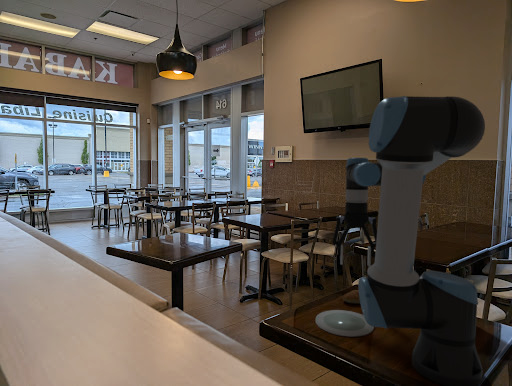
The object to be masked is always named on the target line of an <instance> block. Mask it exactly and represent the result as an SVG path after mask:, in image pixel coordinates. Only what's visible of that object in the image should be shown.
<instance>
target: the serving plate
mask: <svg viewBox="0 0 512 386" xmlns="http://www.w3.org/2000/svg"><path fill="white" fill-rule="evenodd" d="M315 324H316V325H317V327H318V328H319V329H321V330H323V332H327V333H329V334H332V335H336V336H342V337H351V338H353V337H362V336H366V335H369V334H371V333H372V332H373V331H374V330H375V327H373V326H370V325H369V324H368V323H367V322H366V320H365V318H364V315H363V313H359V312H354V311H350V310H343V309H342V310H341V309H332V310H331V309H330V310H325V311H321V312H320V313H318V314H317V315H316V317H315Z"/></svg>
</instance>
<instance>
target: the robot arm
mask: <svg viewBox="0 0 512 386" xmlns="http://www.w3.org/2000/svg"><path fill="white" fill-rule="evenodd" d="M485 122H486V121H485V118H484V115H483V113H482V112H481V110H480V109H479V107H478V106H477V105H476V104H474V103H473V102H472V101H470V100H469V99H466V98H463V97H459V96H407V95H406V96H405V95H402V96H393V97H387V98H384V99H383V100H381V101H380V102H379V103H378V104H377V106H376V107H375V110H374V112H373V114H372V118H371V121H370V124H369V129H368V147H369V149H370V151H371V152H374V153H376V154H375V160H376V161H377V162H370V161H369V159H368V158H367V157H350V158H349V157H348V158H347V159H346V166H345V172H346V174H345V179H346V180H345V201H346V202H345V212H344V213H345V214H344V215H343V216H336V224H335V230H334V233H333V236H332V237H333V238H332V241H331V243H332V245H334V246H337V247H336V248H337V249H336V252H337V253H336V254H337V255H340V256H339V260H340V263H339V264H340V265H343V262H344V261H343V260H344V257H343V256H344V255H343V253H344V246H343V245H342V244H343V242H344V241H345V239H346V237H347V236H348V233H349V231H350V229H351V228H352V229H356V228H357V229H362V232H363V233H364V235H365V237H366V240H367V242H368V244H369V245H368V246H367V266H368V268H367V273H366V276H362V277H360V278H359V279H358V282H357V284H358V289H357V290H359V298H360V307H361V308H360V309H361V311H362V315H364V318H365V320H366V322H367V323H368V324H369V325H370V326H373V327H374V328H384V329H416V330H417V329H418V330H420V334H419V336H418V338H417V341H416V344H415V346H414V347H413V350H412V353H411V365H412V367H413V368H414V370H415V371H416V373H417V372H418V374H419V375H421V376H422V377H424V378H426V379H427V380H429V381H432V382H434V383H437V384H440V385H443V386H479V385H480V384H481V383H482V382H483V366H482V363H481V360H480V357H479V354H478V350H477V347H476V334H477V331H476V330H477V314H478V305H479V302H478V289H477V286H476V284H475V283H474V284H473V283H472V282H470V281H468V280H469V279H467V278H464V277H461V276H458V275H455V274H451V273H448V272H444V271H443V272H442V271H436V270H426V271H424V273H422V274H423V275H422V274H421V275H422V279H419V278H420V275H419V273H418V272H417V271H416V270H414V266H415V257H416V247H417V246H416V245H417V237H418V230H419V229H418V227H419V219H420V211H421V210H420V209H421V202H422V201H421V200H422V191H423V185H424V183H425V181H426V178H427V174H429V173H430V172H432V171H434V170H435V169H436V168H438V167H440V166H442V165H443V164H444V163H446V162H448V161H449V160H451V159H452V158H453V159H455V158H460V157H463V156H465V155H466V154H468V153H470V152H471V151H472V150H474V149H475V148H476V147H478V145H479V144H480V143H481V141H482V140H483V137H484V135H485V130H486V124H485ZM369 187H380V190H379V191H380V193H379V206H378V215H377V216H378V217H377V218H378V219H377V218H376V217H370V216H368V215H369V214H368V206H369V204H368V202H367V201H368V200H369ZM343 221H345V223H347V224H346V226H345V228H344V230H343V231H342V234H341V235H340V237H339V239H338V235H339V232H340V228H341V224H342V223H343ZM368 221H369V224H371V228H372V233H373V234H372V235H373V239H374V242H373V240H372V237H371V236H370V234H369V231H368V230H367V227H366V226H365V225H366V224H367V223H368ZM373 257H374V263H373V264H372V265H371V263H372V262H371V260H372V259H371V258H373ZM466 279H467V280H466Z"/></svg>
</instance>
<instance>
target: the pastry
mask: <svg viewBox="0 0 512 386" xmlns="http://www.w3.org/2000/svg"><path fill="white" fill-rule="evenodd" d="M342 300H343V301H345V302H346V303H349V304H360V298H359V289H353V290H351V291H350V292H347V293H345V294H343V296H342ZM360 305H361V304H360Z"/></svg>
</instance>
